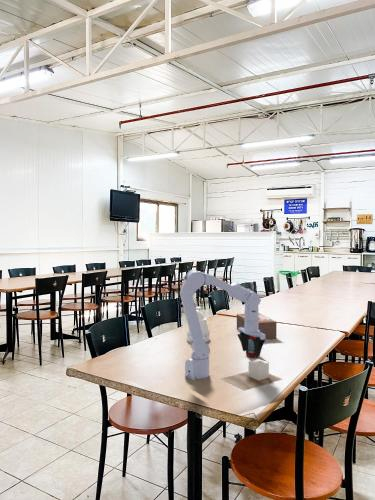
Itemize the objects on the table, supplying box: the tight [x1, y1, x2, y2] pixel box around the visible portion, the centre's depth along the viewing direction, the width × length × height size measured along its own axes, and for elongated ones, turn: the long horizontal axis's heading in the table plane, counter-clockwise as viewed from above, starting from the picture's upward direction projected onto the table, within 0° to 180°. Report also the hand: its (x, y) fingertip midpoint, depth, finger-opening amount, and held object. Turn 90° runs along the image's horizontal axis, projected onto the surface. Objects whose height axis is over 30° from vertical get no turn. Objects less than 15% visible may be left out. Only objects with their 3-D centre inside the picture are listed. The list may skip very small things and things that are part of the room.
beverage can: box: [245, 336, 260, 358], centre depth 187 cm, size 7×7×12 cm
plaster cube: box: [248, 358, 270, 381], centre depth 156 cm, size 6×6×6 cm
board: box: [220, 370, 282, 391], centre depth 154 cm, size 20×14×2 cm
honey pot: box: [186, 306, 211, 343], centre depth 217 cm, size 13×13×18 cm
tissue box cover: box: [236, 312, 277, 341], centre depth 229 cm, size 26×14×10 cm, turn 12°
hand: (251, 352), depth 161 cm, fingers open, 7 cm apart
